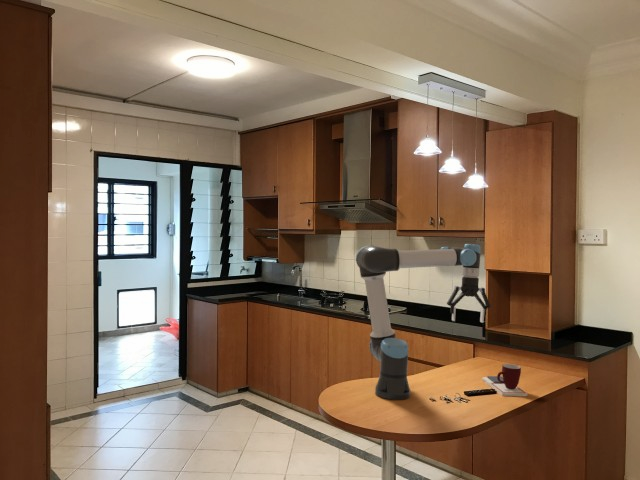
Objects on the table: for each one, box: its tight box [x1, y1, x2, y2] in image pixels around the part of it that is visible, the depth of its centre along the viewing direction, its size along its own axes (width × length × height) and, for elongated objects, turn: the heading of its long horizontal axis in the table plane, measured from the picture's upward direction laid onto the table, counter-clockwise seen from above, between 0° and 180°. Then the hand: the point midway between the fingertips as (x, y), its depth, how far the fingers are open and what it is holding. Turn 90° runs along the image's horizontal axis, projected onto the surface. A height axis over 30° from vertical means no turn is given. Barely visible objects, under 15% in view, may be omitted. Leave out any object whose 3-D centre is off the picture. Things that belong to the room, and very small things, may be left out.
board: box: [481, 375, 529, 397], centre depth 240 cm, size 12×24×2 cm, turn 3°
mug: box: [496, 363, 522, 389], centre depth 236 cm, size 11×8×10 cm
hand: (467, 321), depth 243 cm, fingers open, 13 cm apart
